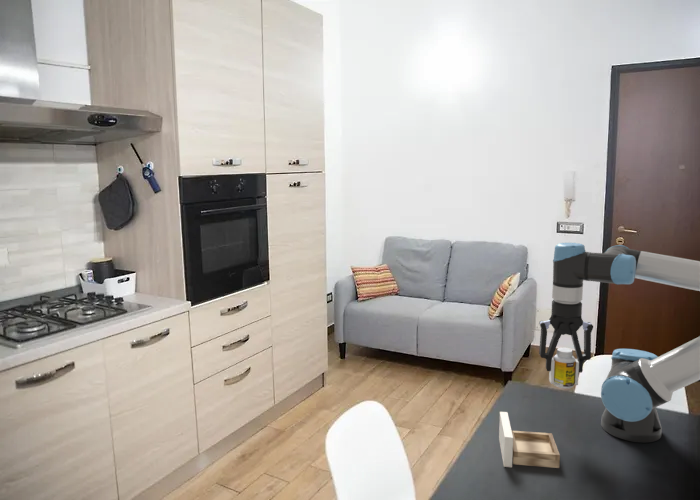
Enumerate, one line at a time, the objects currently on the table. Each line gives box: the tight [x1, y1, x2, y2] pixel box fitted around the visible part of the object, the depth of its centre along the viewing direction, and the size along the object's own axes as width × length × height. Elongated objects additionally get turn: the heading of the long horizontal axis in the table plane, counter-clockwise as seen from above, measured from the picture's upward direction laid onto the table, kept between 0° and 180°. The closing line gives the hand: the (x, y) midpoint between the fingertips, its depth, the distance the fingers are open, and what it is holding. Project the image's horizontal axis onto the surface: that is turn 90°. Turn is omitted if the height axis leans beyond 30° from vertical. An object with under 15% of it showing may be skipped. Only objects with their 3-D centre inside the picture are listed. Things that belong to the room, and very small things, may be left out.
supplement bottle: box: [553, 347, 576, 390], centre depth 147 cm, size 6×6×10 cm
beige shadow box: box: [511, 429, 561, 469], centre depth 140 cm, size 11×11×4 cm
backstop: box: [498, 411, 513, 468], centre depth 140 cm, size 2×14×8 cm, turn 169°
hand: (563, 382), depth 147 cm, fingers closed on supplement bottle, 6 cm apart
